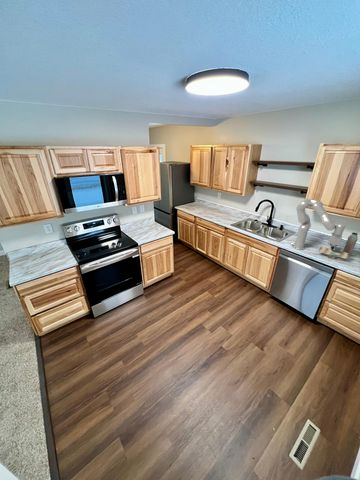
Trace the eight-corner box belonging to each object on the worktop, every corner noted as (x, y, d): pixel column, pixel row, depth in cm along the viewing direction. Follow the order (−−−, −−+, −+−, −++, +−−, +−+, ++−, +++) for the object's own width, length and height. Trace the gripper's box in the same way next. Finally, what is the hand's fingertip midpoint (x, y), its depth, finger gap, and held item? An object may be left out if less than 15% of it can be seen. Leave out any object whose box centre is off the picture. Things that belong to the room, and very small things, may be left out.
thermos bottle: (348, 257, 219) (357, 235, 207) (340, 254, 226) (349, 232, 213) (351, 255, 223) (361, 233, 210) (343, 252, 229) (352, 231, 216)
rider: (333, 253, 216) (335, 248, 213) (333, 251, 220) (335, 246, 217) (338, 255, 213) (340, 249, 210) (338, 253, 217) (340, 248, 214)
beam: (317, 255, 226) (319, 248, 222) (318, 252, 230) (320, 246, 226) (345, 262, 211) (348, 255, 208) (345, 259, 216) (348, 253, 212)
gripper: (328, 234, 211) (323, 248, 219) (345, 237, 203) (340, 252, 211) (329, 232, 216) (324, 246, 224) (346, 235, 208) (340, 249, 216)
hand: (331, 249), depth 218 cm, fingers closed
